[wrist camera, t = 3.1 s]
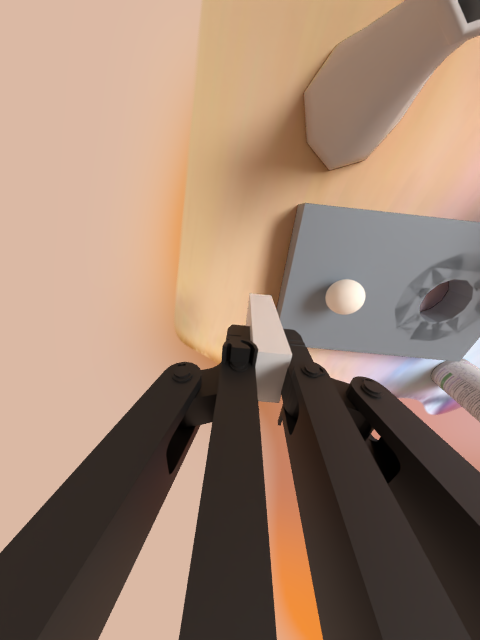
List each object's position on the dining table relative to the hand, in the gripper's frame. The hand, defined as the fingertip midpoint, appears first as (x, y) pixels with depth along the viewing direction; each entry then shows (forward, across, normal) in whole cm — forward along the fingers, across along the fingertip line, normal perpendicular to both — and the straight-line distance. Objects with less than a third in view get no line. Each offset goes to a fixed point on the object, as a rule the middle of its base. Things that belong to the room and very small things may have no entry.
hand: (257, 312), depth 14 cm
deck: (+8, +14, 0) cm, 16 cm away
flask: (+9, +6, +14) cm, 17 cm away
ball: (+4, +8, 0) cm, 9 cm away
